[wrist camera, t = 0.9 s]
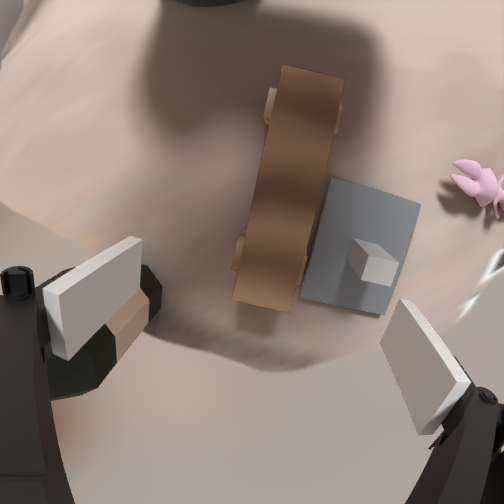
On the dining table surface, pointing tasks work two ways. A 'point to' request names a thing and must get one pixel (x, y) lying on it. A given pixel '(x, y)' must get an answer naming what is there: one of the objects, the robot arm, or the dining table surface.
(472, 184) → the rabbit figure
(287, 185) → the walnut beam
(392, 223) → the fulcrum
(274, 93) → the board
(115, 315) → the wine bottle
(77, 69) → the dining table surface
